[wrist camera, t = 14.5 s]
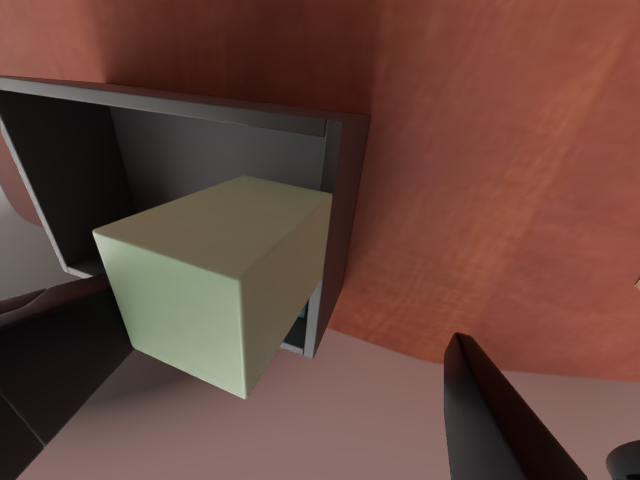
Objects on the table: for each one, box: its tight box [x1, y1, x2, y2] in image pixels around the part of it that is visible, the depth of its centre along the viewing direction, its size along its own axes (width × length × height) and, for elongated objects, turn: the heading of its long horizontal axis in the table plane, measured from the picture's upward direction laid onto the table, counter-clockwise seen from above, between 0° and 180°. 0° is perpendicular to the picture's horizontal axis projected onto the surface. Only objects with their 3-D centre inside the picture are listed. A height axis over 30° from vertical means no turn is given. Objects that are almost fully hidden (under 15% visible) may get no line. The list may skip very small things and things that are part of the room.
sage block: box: [93, 175, 333, 399], centre depth 9 cm, size 4×4×6 cm
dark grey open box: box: [0, 75, 371, 359], centre depth 17 cm, size 19×12×6 cm, turn 84°
